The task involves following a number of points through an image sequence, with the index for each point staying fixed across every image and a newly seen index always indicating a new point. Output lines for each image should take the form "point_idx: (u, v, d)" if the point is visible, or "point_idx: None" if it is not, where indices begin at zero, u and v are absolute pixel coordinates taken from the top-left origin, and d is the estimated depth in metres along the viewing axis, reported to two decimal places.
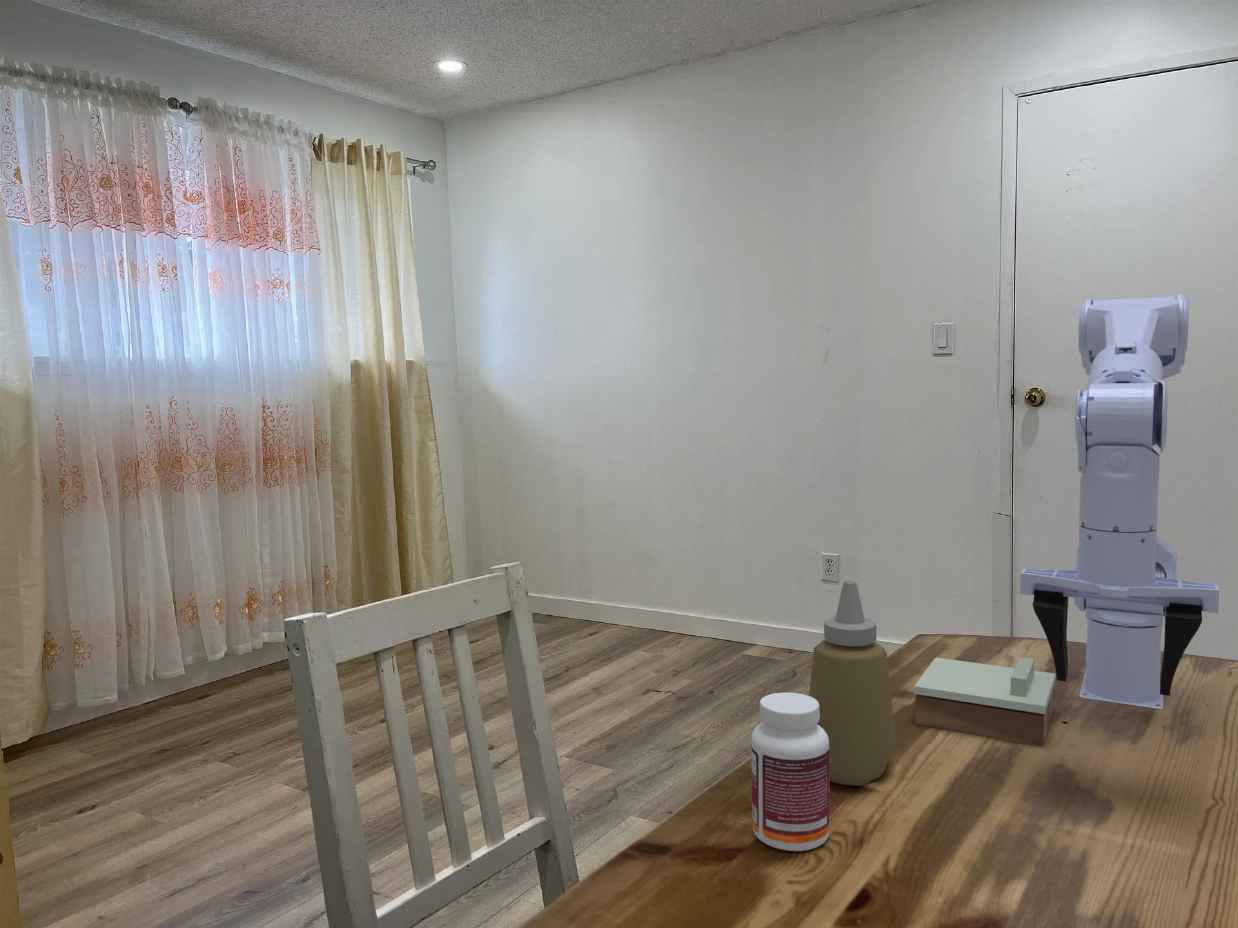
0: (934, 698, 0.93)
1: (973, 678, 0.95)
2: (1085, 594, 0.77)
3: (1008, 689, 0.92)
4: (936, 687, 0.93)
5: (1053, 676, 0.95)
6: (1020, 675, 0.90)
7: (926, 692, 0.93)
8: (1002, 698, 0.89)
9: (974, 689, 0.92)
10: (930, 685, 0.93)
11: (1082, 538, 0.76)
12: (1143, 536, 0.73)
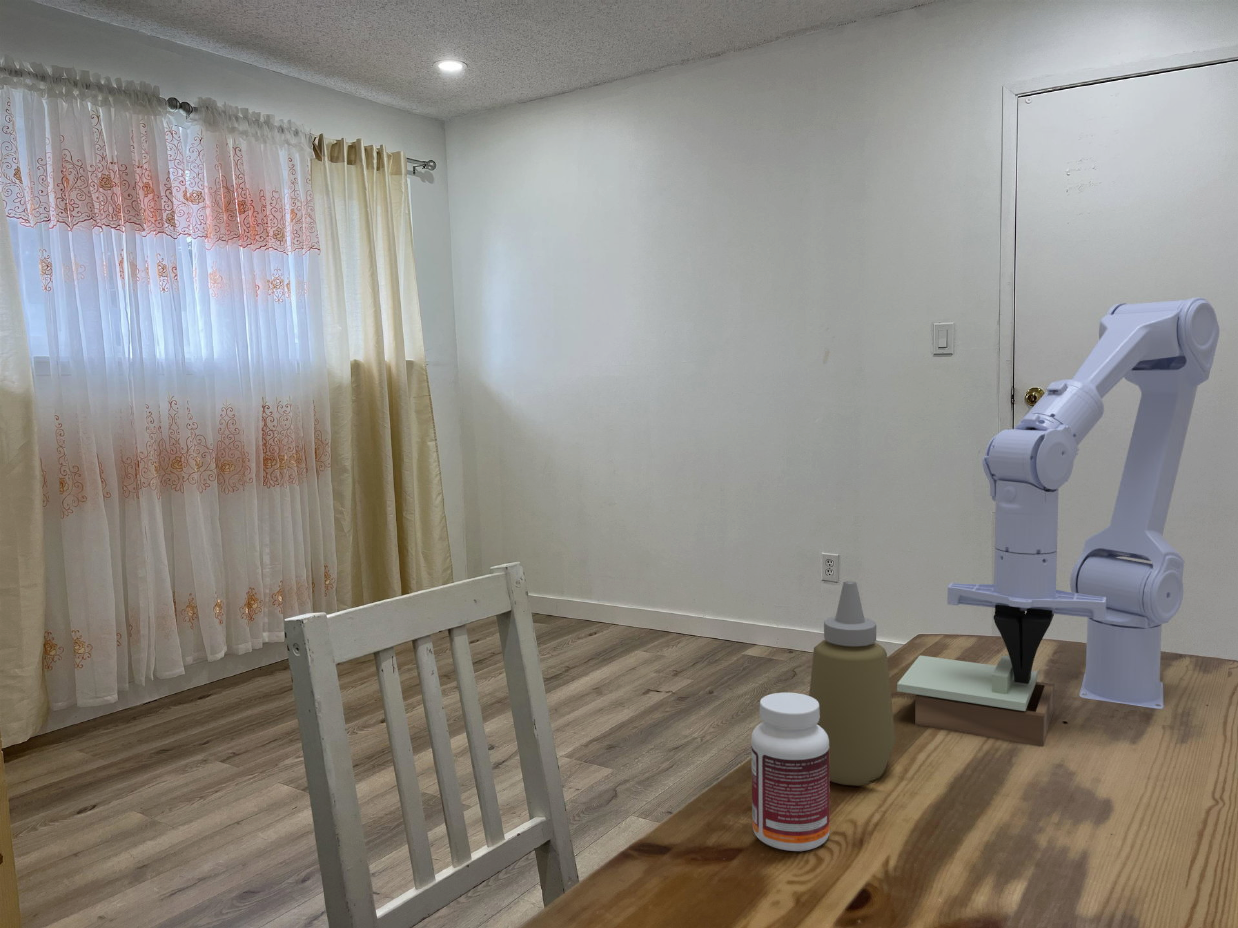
0: (934, 698, 0.93)
1: (956, 676, 0.96)
2: (1000, 605, 0.93)
3: (990, 686, 0.92)
4: (919, 684, 0.93)
5: (1035, 674, 0.96)
6: (1002, 672, 0.91)
7: (909, 689, 0.93)
8: (983, 695, 0.90)
9: (956, 687, 0.93)
10: (913, 682, 0.94)
11: (996, 558, 0.91)
12: (1044, 557, 0.89)
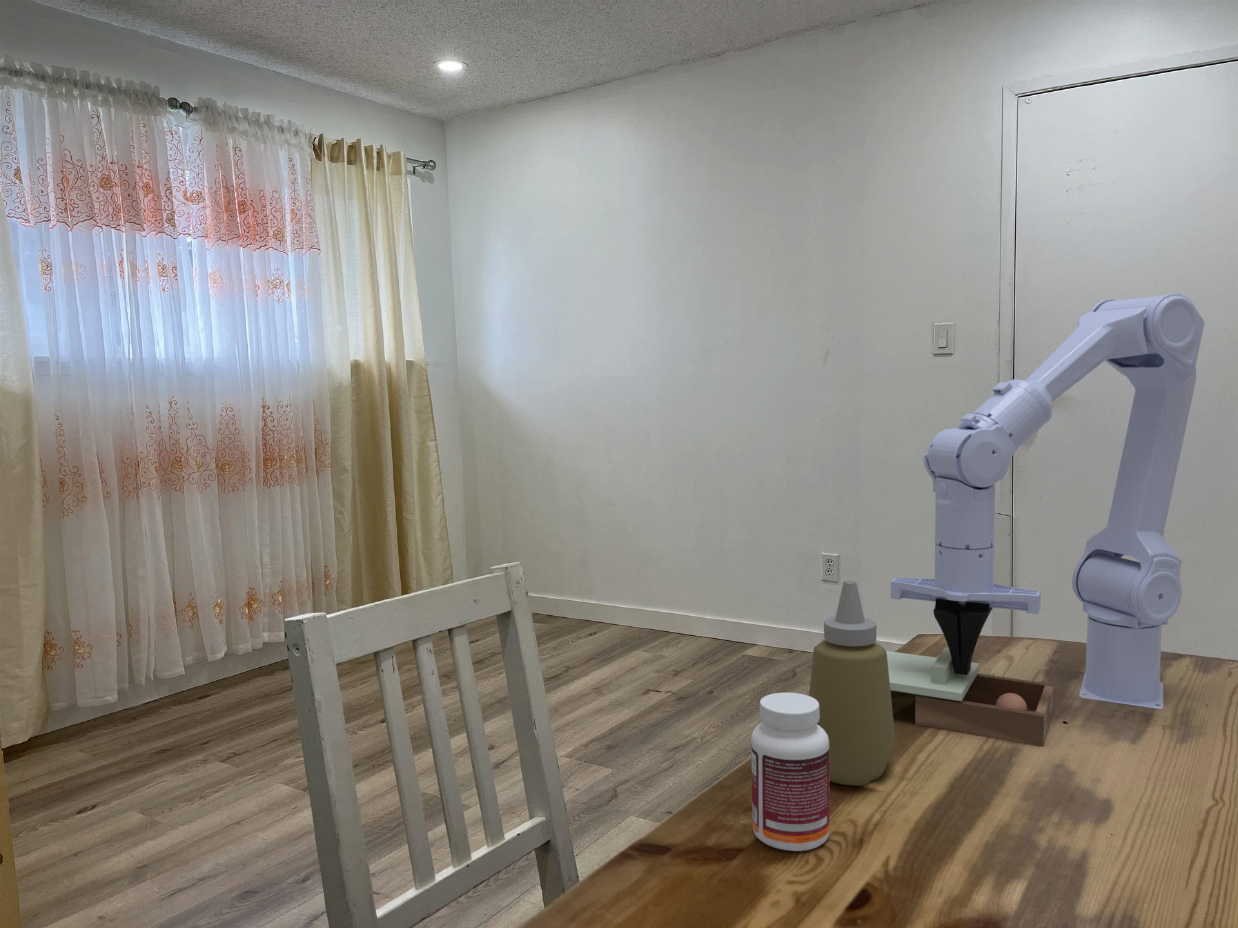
0: (934, 698, 0.93)
1: (899, 668, 0.99)
2: (940, 598, 0.96)
3: (930, 678, 0.95)
4: None
5: (976, 666, 0.99)
6: (941, 664, 0.94)
7: None
8: (923, 686, 0.93)
9: (898, 678, 0.96)
10: None
11: (936, 553, 0.94)
12: (980, 552, 0.91)
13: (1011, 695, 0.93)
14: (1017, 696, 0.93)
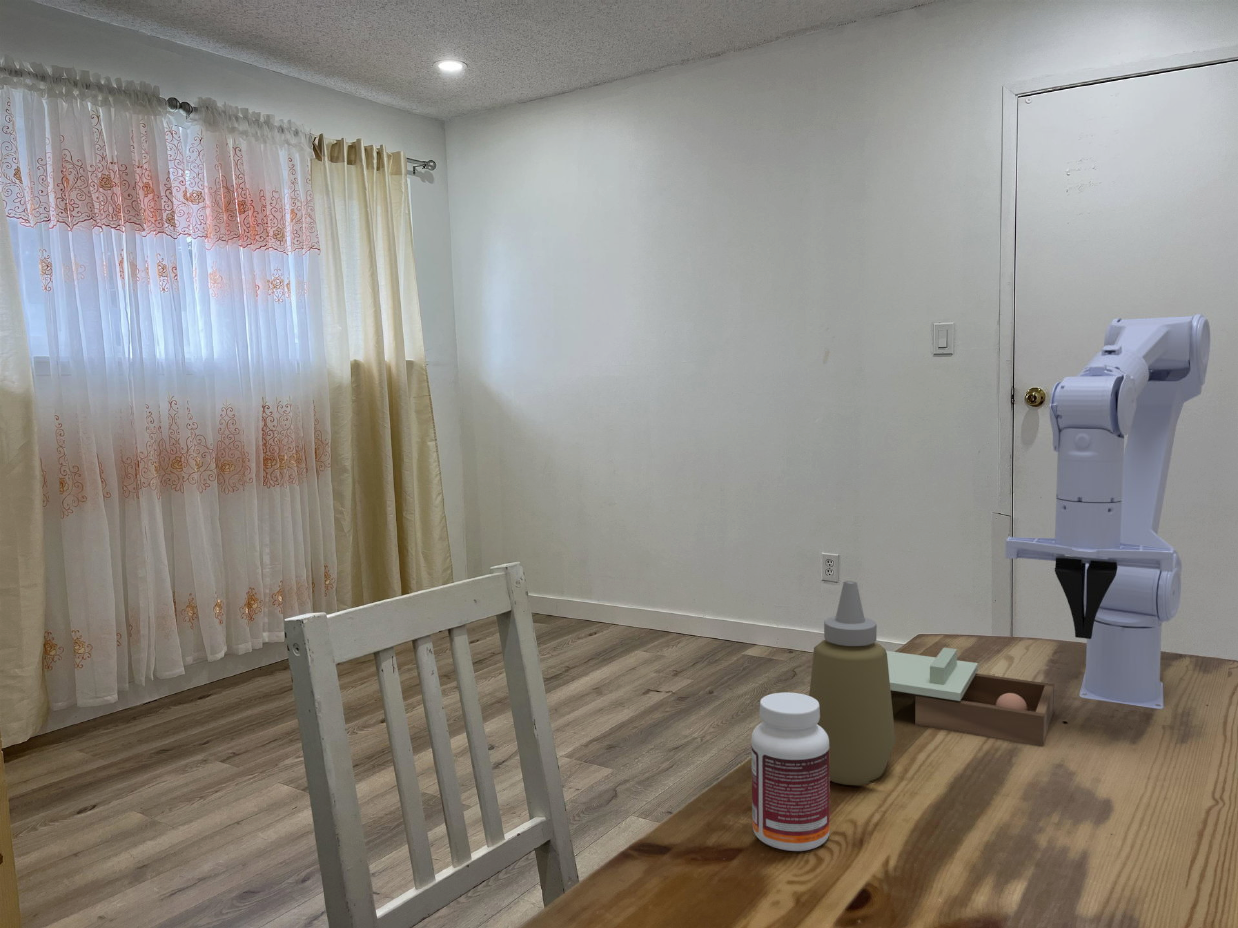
0: (934, 698, 0.93)
1: (898, 668, 0.99)
2: (1061, 558, 0.90)
3: (929, 677, 0.95)
4: None
5: (975, 665, 0.99)
6: (939, 663, 0.94)
7: None
8: (921, 686, 0.93)
9: (896, 678, 0.96)
10: None
11: (1058, 509, 0.89)
12: (1109, 506, 0.86)
13: (1011, 695, 0.93)
14: (1017, 696, 0.93)
